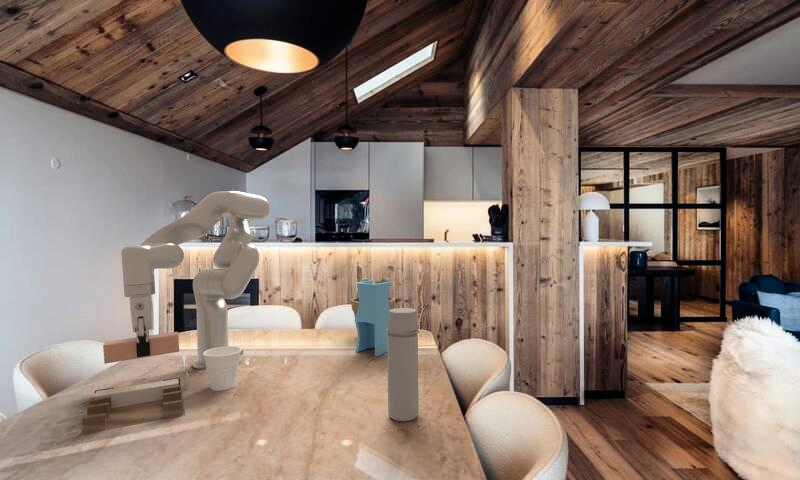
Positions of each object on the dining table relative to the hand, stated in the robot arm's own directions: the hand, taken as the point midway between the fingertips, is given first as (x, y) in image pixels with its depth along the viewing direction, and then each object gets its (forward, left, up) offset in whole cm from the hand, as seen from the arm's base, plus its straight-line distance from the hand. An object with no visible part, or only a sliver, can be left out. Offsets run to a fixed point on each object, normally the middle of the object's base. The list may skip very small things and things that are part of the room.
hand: (144, 353), depth 123 cm
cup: (-19, +14, -10) cm, 26 cm away
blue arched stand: (-72, -1, -10) cm, 73 cm away
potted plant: (-81, -21, -10) cm, 85 cm away
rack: (+1, +20, -10) cm, 22 cm away
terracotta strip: (0, 0, -1) cm, 1 cm away
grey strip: (+1, +14, -9) cm, 16 cm away
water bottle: (-55, +53, -10) cm, 77 cm away
